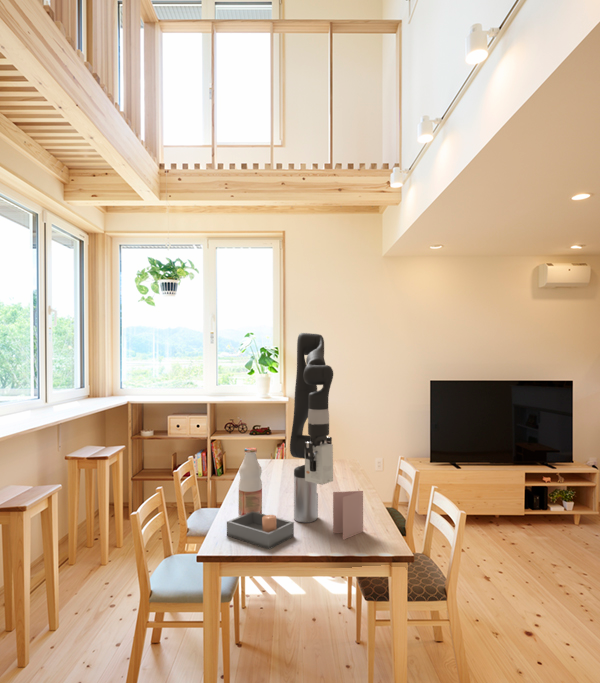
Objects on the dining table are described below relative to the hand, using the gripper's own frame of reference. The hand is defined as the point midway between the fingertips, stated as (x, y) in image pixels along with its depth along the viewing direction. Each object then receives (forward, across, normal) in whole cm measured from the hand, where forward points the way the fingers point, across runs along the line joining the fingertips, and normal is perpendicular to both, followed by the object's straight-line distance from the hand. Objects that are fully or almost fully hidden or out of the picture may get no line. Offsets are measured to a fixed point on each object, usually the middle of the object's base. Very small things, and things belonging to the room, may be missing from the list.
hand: (318, 468), depth 159 cm
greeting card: (+26, -12, +6) cm, 29 cm away
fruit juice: (+26, -3, -35) cm, 44 cm away
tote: (+26, +8, -20) cm, 34 cm away
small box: (+5, 0, 0) cm, 5 cm away
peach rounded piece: (+24, +9, -15) cm, 30 cm away
